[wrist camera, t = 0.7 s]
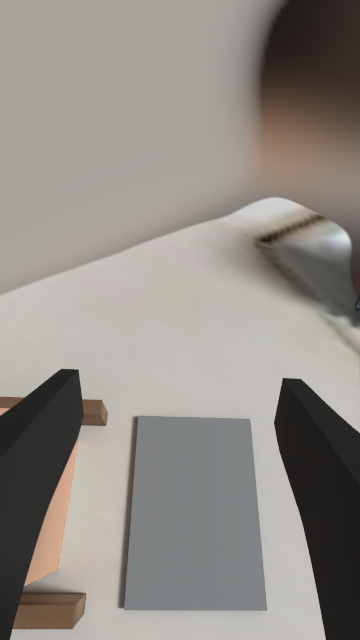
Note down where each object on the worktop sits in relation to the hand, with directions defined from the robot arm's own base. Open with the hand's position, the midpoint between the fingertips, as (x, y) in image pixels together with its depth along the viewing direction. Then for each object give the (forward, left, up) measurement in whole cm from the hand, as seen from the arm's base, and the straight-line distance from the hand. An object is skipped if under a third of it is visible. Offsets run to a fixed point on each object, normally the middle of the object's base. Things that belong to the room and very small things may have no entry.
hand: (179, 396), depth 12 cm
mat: (-3, -2, -16) cm, 16 cm away
